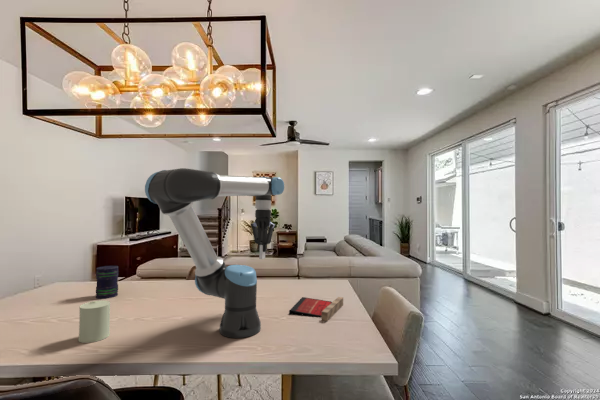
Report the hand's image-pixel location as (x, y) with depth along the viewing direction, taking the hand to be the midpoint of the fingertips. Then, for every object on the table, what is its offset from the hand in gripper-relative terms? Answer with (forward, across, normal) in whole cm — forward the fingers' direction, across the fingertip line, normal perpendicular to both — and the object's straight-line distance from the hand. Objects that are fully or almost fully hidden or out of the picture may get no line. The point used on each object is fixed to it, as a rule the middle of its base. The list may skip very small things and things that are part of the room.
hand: (262, 258), depth 143 cm
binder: (+22, -23, -7) cm, 33 cm away
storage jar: (+23, +79, +25) cm, 86 cm away
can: (+23, +32, +57) cm, 69 cm away
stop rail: (+22, -34, -7) cm, 41 cm away
